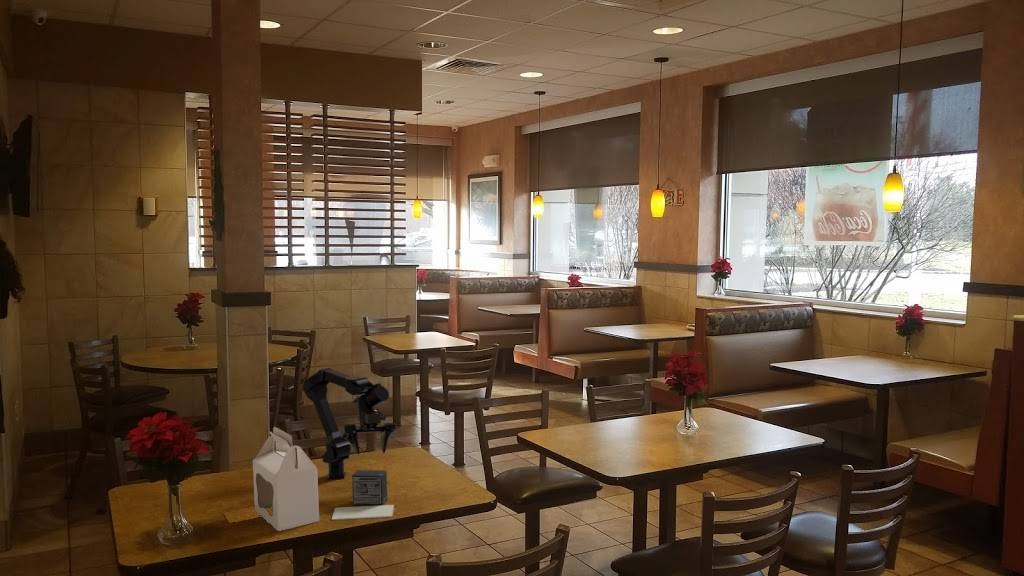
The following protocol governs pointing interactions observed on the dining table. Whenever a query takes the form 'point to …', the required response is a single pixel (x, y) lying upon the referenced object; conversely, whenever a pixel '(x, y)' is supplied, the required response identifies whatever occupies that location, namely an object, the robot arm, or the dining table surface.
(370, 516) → the mat
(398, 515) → the dining table surface
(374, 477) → the small box
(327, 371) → the robot arm
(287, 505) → the gable box
